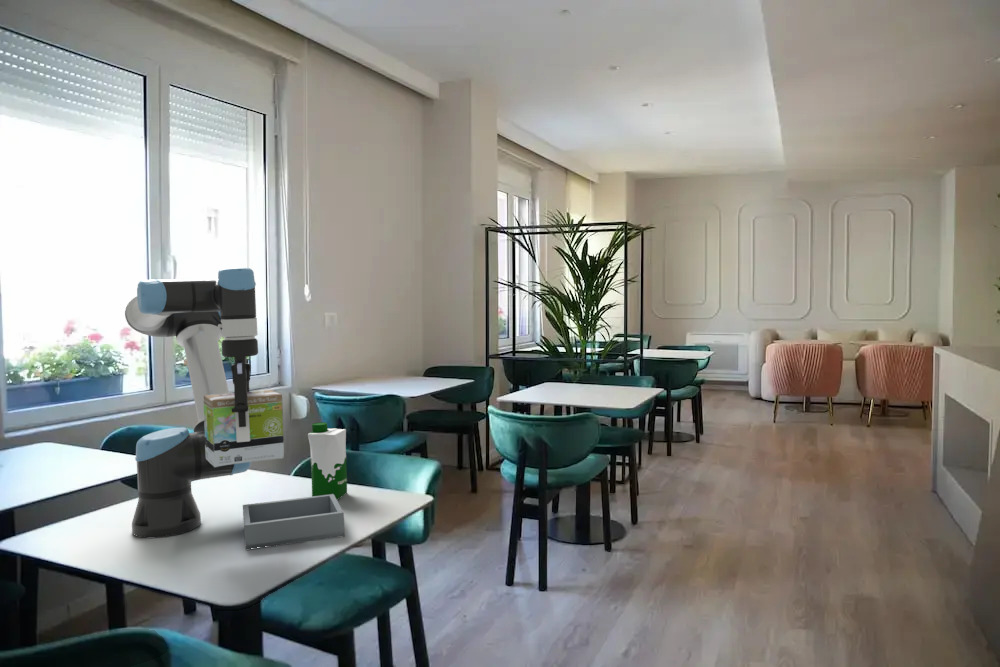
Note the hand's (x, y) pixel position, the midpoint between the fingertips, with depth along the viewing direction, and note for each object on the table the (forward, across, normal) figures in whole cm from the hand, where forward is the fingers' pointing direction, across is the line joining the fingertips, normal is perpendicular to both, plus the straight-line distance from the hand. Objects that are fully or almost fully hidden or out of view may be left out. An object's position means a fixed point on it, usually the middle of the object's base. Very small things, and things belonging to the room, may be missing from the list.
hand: (244, 436), depth 164 cm
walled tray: (+24, -5, +9) cm, 26 cm away
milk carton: (+24, -32, +20) cm, 44 cm away
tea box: (+5, 0, 0) cm, 5 cm away
